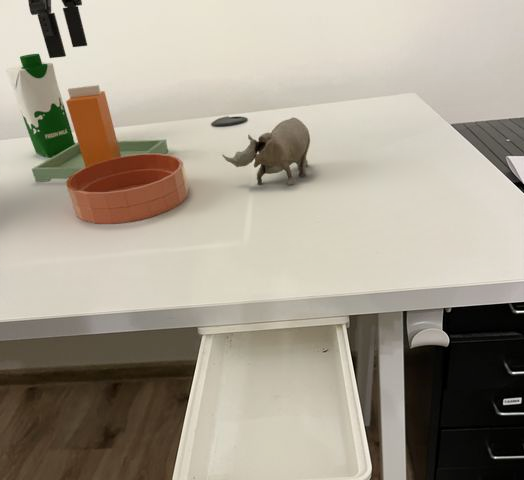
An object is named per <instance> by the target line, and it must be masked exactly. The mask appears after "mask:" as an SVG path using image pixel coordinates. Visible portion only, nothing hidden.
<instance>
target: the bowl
mask: <svg viewBox="0 0 524 480" xmlns="http://www.w3.org/2000/svg"><path fill="white" fill-rule="evenodd" d="M65 184H66V189H67V191H68V195H69V197H70V198H69V199H70V201H71V204H72V207H73V210H74V213H75V216H76V217H77V218H79V219H80V220H81V221H84V222H89V223H93V224H100V225H101V224H106V225H107V224H109V225H113V224H122V223H131V222H136V221H140V220H144V219H145V220H146V219H149V218H153V217H155V216H158V215H160V214H163V213H166V212H168V211H170V210H173V209H174V208H175V207H177V206H179V205H180V204H182V203H183V202H184V201H185V200H186V199H187V198H188V195H189V184H188V180H187V174H186V170H185V163H184V161H183V160H182V159H181V158H180V157H178V156H176V155H173V154H167V153H166V154H159V153H149V154H135V155H127V156H122V157H117V158H112V159H108V160H104V161H101V162H98V163H95V164H92V165H89V166H87V167H85V168H82V169H80V170H79V171H77V172H75V173H74V174H72V175H71V176H70V177H69V178H67V180H66V181H65Z"/></svg>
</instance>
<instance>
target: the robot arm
mask: <svg viewBox="0 0 524 480" xmlns="http://www.w3.org/2000/svg"><path fill="white" fill-rule="evenodd" d="M27 1H28V7H29V12H30V14H31V15H32V16H37V19H38V22H39V26H40V29H41V33H42V36H43V40H44V43H45V47H46V50H47V52H48V58H49V59H56V58H65V57H66V56H67V54H66V50H65V47H64V44H63V43H64V42H63V39H62V35H61V31H60V28H59V25H58V21H57V17H56V14H55V12H52V0H27ZM61 2H62V4H63V8H62V11H63V15H64V19H65V22H66V26H67V30H68V34H69V37H70V42H71V45H72V48H80V47H87V46H88V42H87V38H86V34H85V29H84V25H83V21H82V19H81V12H80V9H79V6H83V1H82V0H61Z"/></svg>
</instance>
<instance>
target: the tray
mask: <svg viewBox="0 0 524 480" xmlns="http://www.w3.org/2000/svg"><path fill="white" fill-rule="evenodd" d="M117 142H118V146H119V150H120V154H121V157H122V156H127V155H135V154H149V153H159V154H167V153H168V152H169V148H168V143H167V139H141V140H140V139H137V140H117ZM82 168H85V164H84V160H83V157H82V154H81V150H80V147H79V143H78V142H75V144H74V145H73V146H71V147H69V148H67V149H66V150H64V151H62V152H60V153H59V154H57V155H55V156H52V157H49V158H48V159H46V160H44V161H43V162H41V163H39V164H38V165H36V166H33V168H31V172H32V174H33V177H34V180H35V182H51V180H52V179H69V177H70V176H71V175H72V174H74V173H75V172H77V171H79V170H80V169H82Z"/></svg>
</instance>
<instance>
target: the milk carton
mask: <svg viewBox="0 0 524 480" xmlns="http://www.w3.org/2000/svg"><path fill="white" fill-rule="evenodd" d="M19 59H20V63H21V65H18V66H13V67H8V68H5V72H6V74H7V76H8V79H9V81H10V84H11V87H12V89H13V92H14V95H15V97H16V101H17V104H18V106H19V110H20V113H21V115H22V118H23V121H24V124H25V127H26V130H27V133H28V135H29V138H30V141H31V143H32V146H33V148H34V152H35V153H36V154H38V155H41V156H43V157H46V158H48V159H50V158H52V157H53V156H55V155H57V154H59V153H60V152H62V151H64V150H66V149H67V148H69V147H71V146H73V145H74V144H76V142H75V140H74V135H73V132H72V128H71V125H70V121H69V118H68V114H67V111H66V108H65V104H64V100H63V97H62V95H61V91H60V88H59V84H58V80H57V77H56V72H55V66H54V64H53V63H51V62H45V61H42V59H41V55H40V53H30V54H25V55H21V56H19Z"/></svg>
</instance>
